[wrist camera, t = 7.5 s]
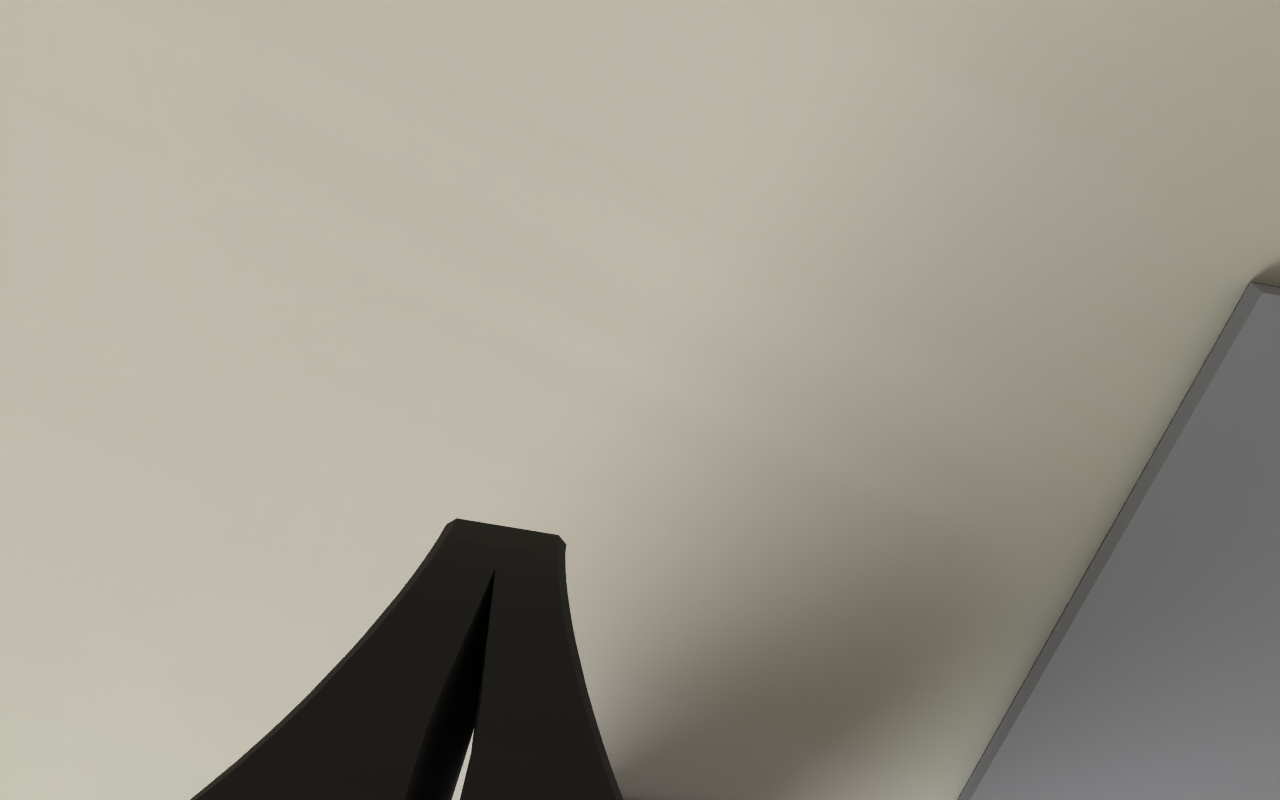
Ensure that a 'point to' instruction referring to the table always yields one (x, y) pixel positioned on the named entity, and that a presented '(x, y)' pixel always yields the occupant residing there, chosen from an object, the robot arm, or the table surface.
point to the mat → (1171, 613)
